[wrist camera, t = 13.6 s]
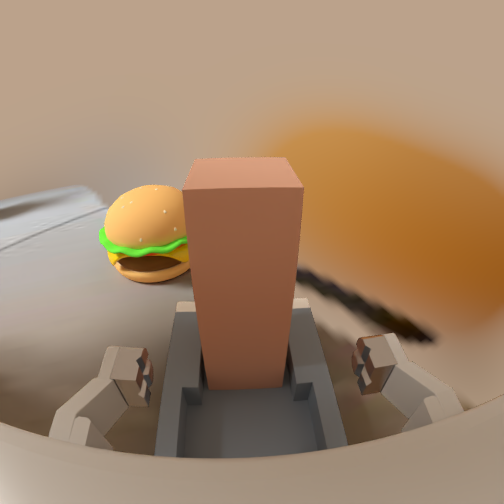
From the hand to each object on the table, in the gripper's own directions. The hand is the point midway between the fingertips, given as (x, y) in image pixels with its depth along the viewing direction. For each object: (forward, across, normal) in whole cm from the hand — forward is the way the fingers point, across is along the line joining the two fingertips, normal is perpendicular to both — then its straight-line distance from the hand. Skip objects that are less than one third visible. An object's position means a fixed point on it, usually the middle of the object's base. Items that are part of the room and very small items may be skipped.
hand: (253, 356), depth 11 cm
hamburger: (+23, +10, +10) cm, 27 cm away
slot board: (+3, 0, +10) cm, 10 cm away
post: (+7, 0, +9) cm, 11 cm away
